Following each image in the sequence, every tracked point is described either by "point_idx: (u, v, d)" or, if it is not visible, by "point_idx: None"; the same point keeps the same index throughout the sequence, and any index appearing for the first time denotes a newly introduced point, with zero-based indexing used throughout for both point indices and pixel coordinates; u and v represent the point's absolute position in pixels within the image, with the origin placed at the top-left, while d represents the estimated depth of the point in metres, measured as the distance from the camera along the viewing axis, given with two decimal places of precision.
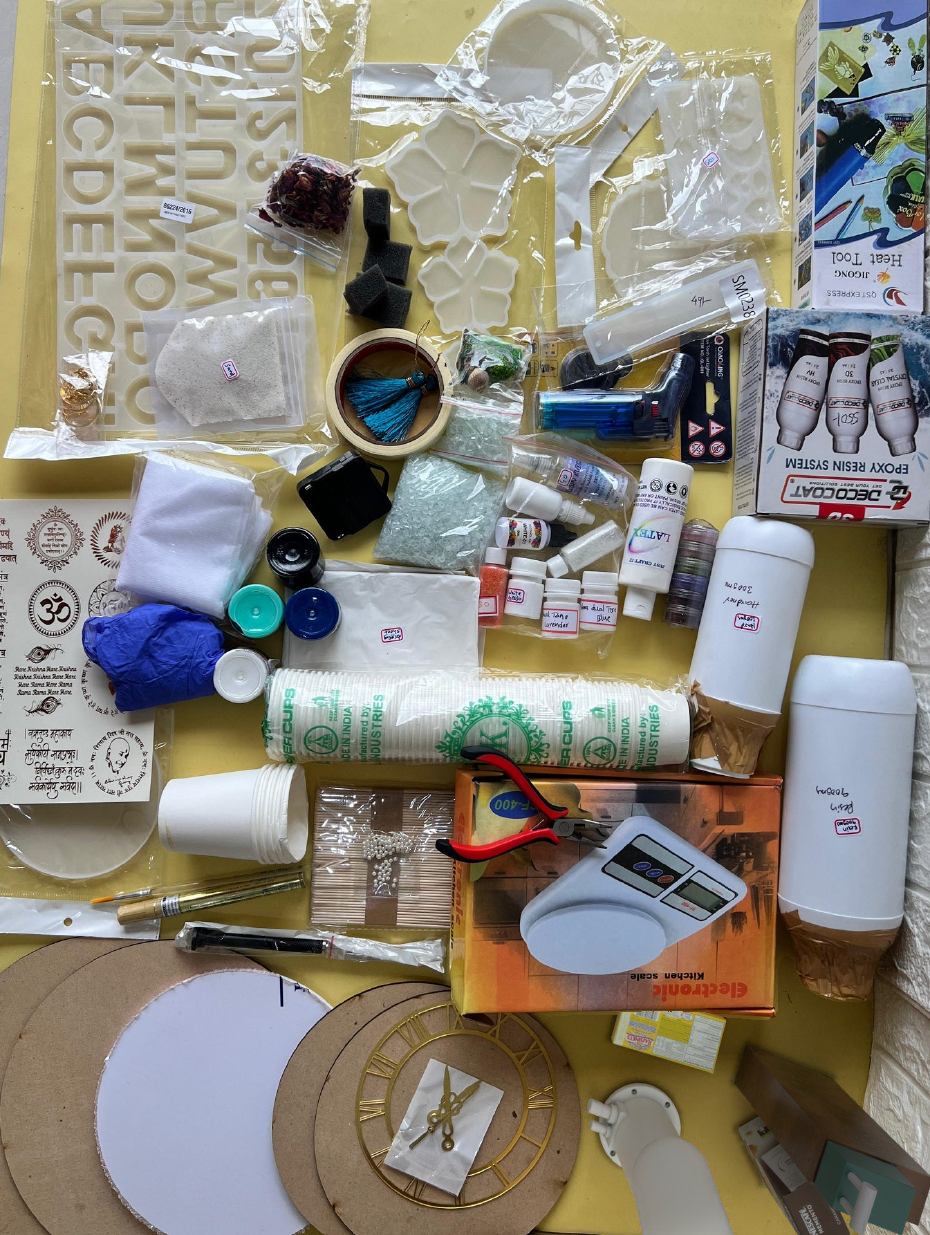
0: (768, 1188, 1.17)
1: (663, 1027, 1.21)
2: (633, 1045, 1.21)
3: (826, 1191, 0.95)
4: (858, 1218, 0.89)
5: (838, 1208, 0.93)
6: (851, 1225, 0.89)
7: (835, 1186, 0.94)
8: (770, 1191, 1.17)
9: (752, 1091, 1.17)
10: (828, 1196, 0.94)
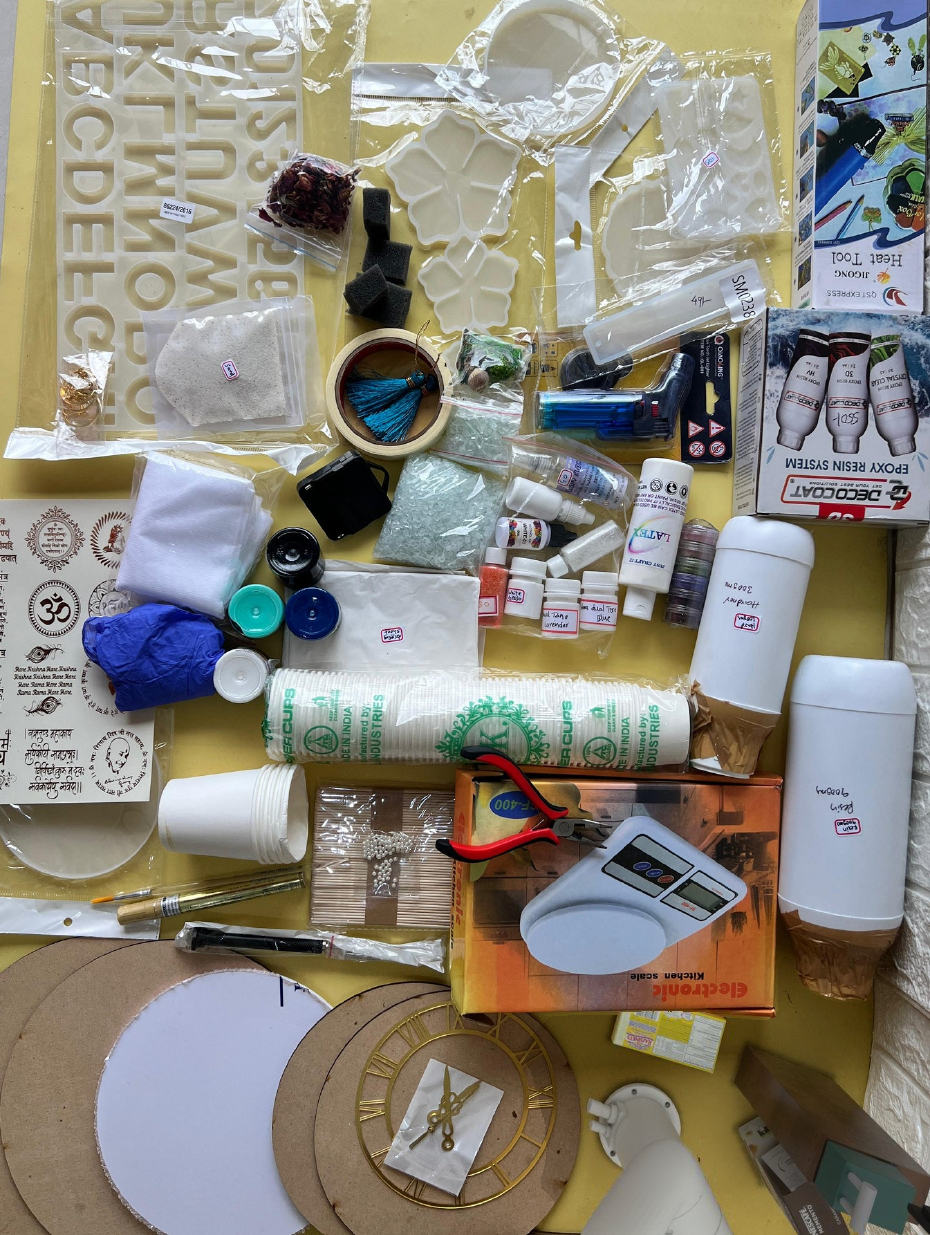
0: (768, 1188, 1.17)
1: (663, 1027, 1.21)
2: (633, 1045, 1.21)
3: (826, 1191, 0.95)
4: (858, 1218, 0.89)
5: (838, 1208, 0.93)
6: (851, 1225, 0.89)
7: (835, 1186, 0.94)
8: (770, 1191, 1.17)
9: (752, 1091, 1.17)
10: (828, 1196, 0.94)
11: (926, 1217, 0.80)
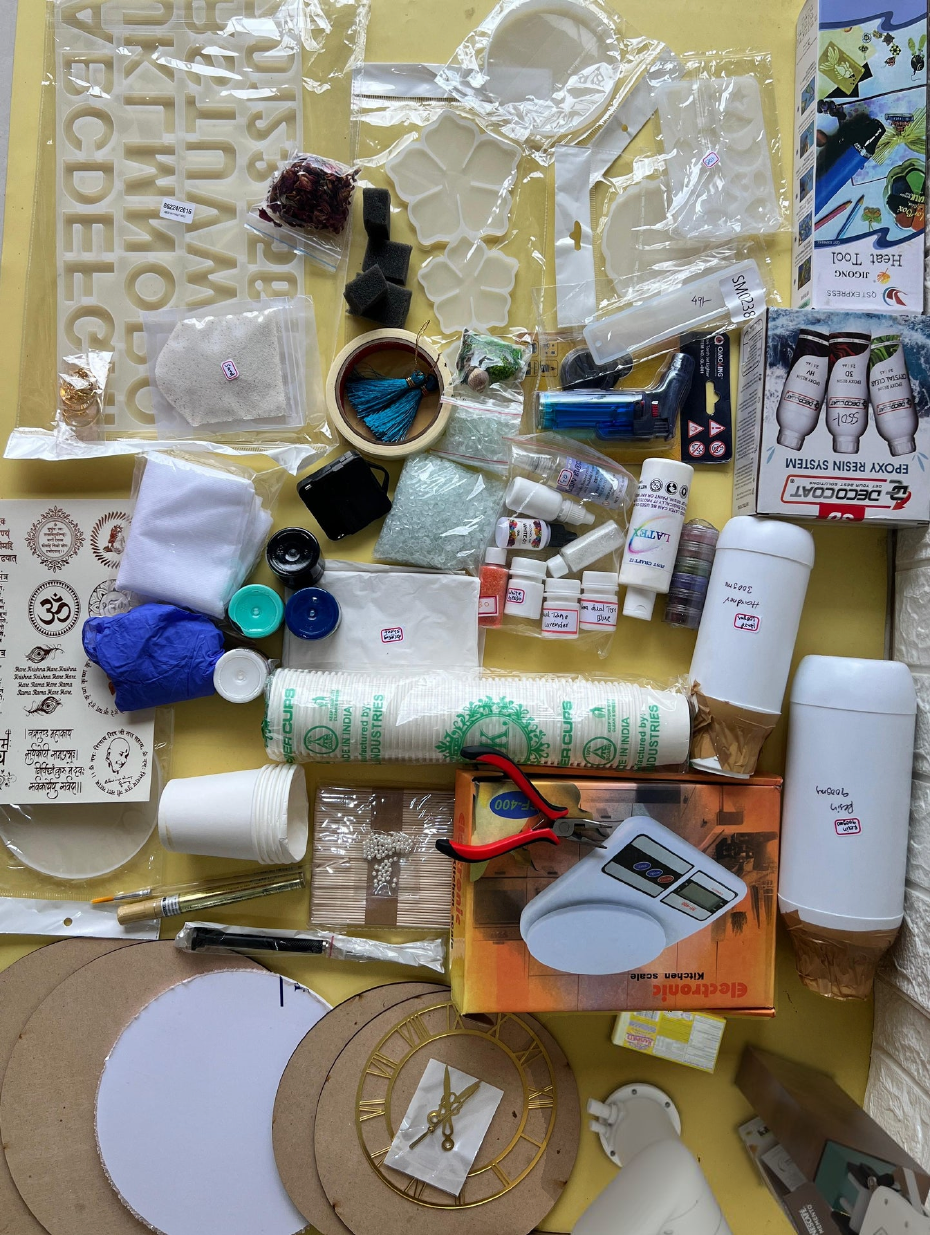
0: (768, 1188, 1.17)
1: (663, 1027, 1.21)
2: (633, 1045, 1.21)
3: (826, 1191, 0.95)
4: (858, 1218, 0.89)
5: (838, 1208, 0.93)
6: (851, 1225, 0.89)
7: (835, 1186, 0.94)
8: (770, 1191, 1.17)
9: (752, 1091, 1.17)
10: (828, 1196, 0.94)
11: (862, 1173, 0.91)
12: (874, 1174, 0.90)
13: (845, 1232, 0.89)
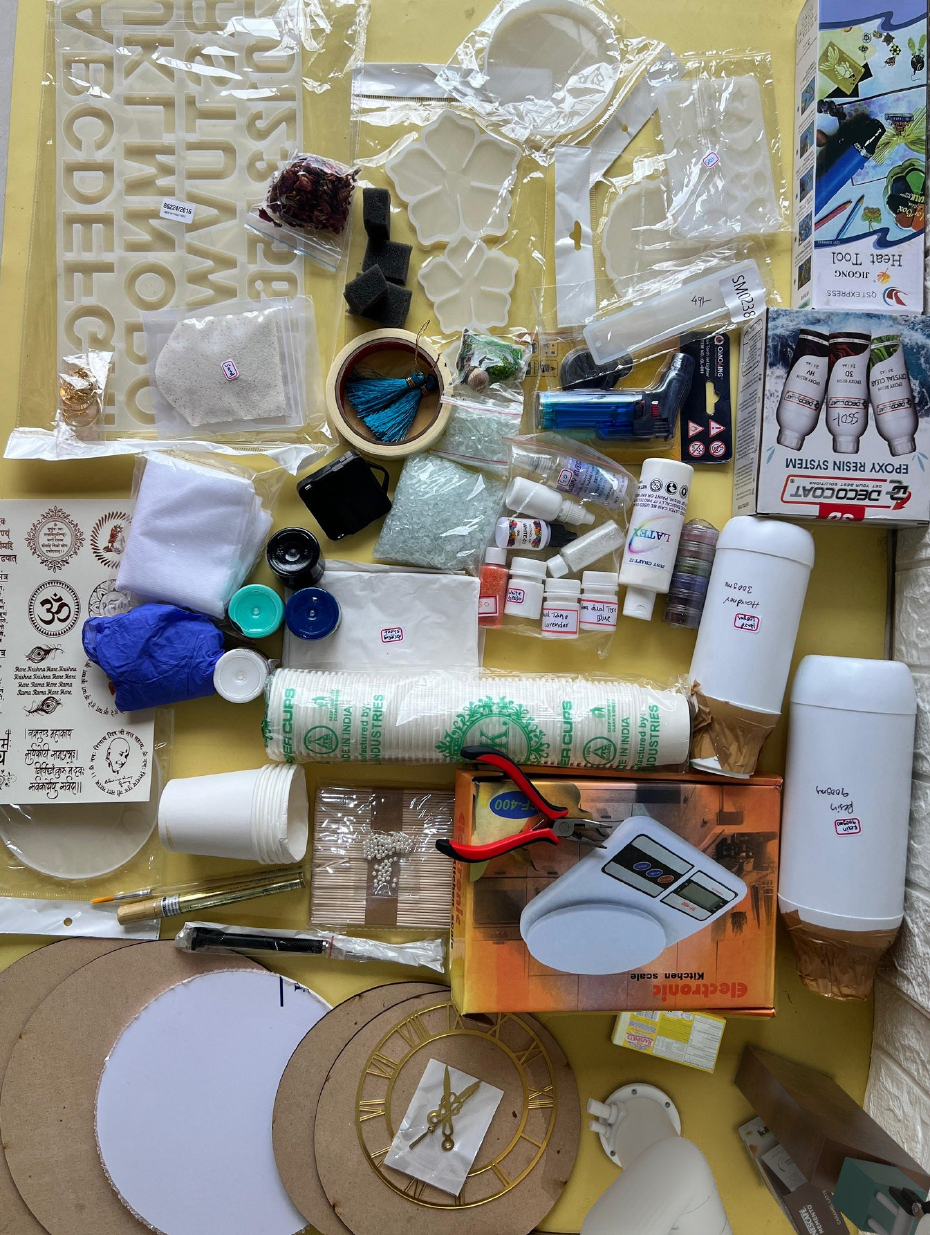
0: (768, 1188, 1.17)
1: (663, 1027, 1.21)
2: (633, 1045, 1.21)
3: (850, 1212, 0.92)
4: None
5: (866, 1229, 0.90)
6: None
7: (864, 1207, 0.91)
8: (770, 1191, 1.17)
9: (752, 1091, 1.17)
10: (854, 1217, 0.91)
11: (905, 1198, 0.88)
12: (918, 1200, 0.88)
13: None
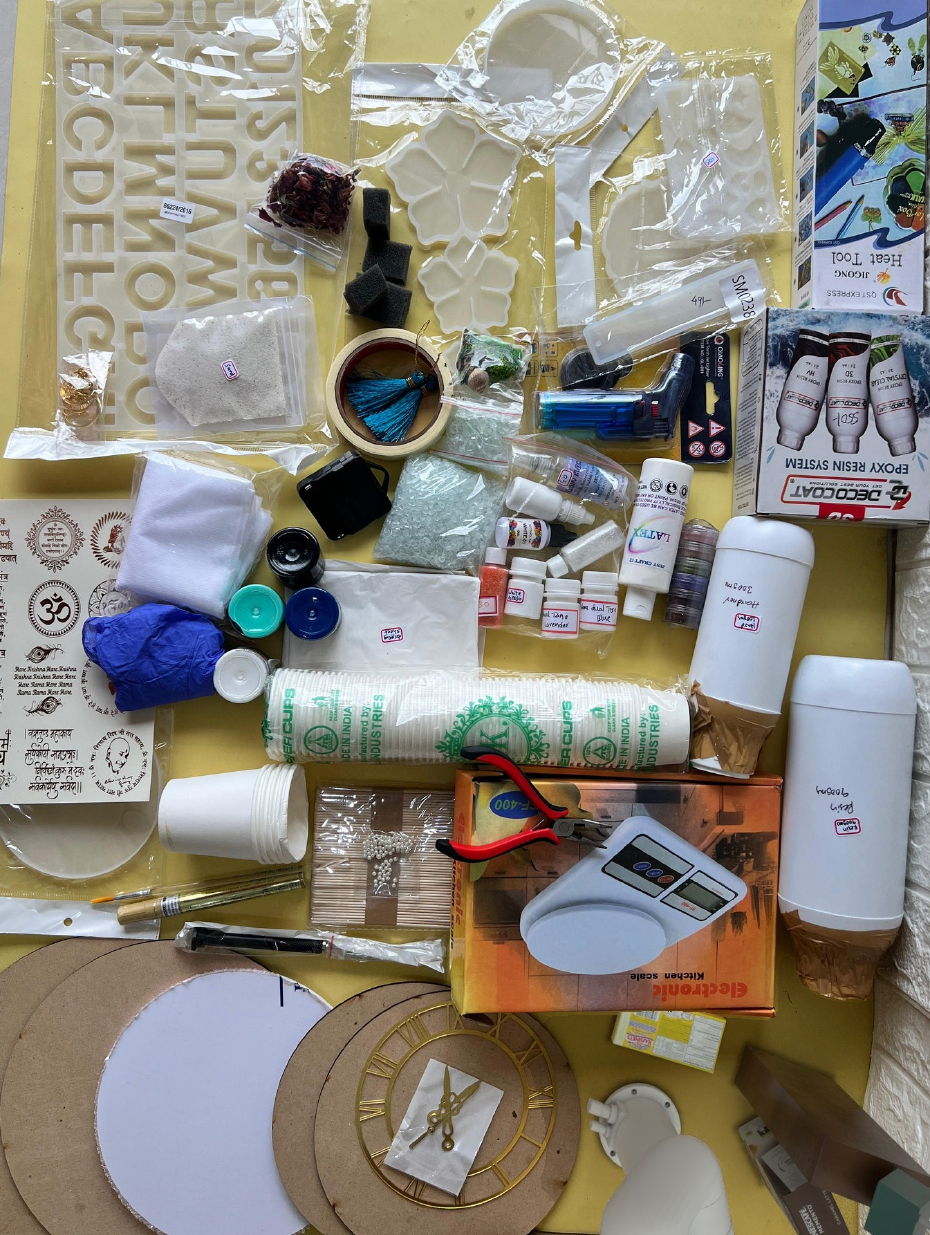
0: (768, 1188, 1.17)
1: (663, 1027, 1.21)
2: (633, 1045, 1.21)
3: None
4: None
5: None
6: None
7: (906, 1234, 0.88)
8: (770, 1191, 1.17)
9: (752, 1091, 1.17)
10: None
11: None
12: None
13: None
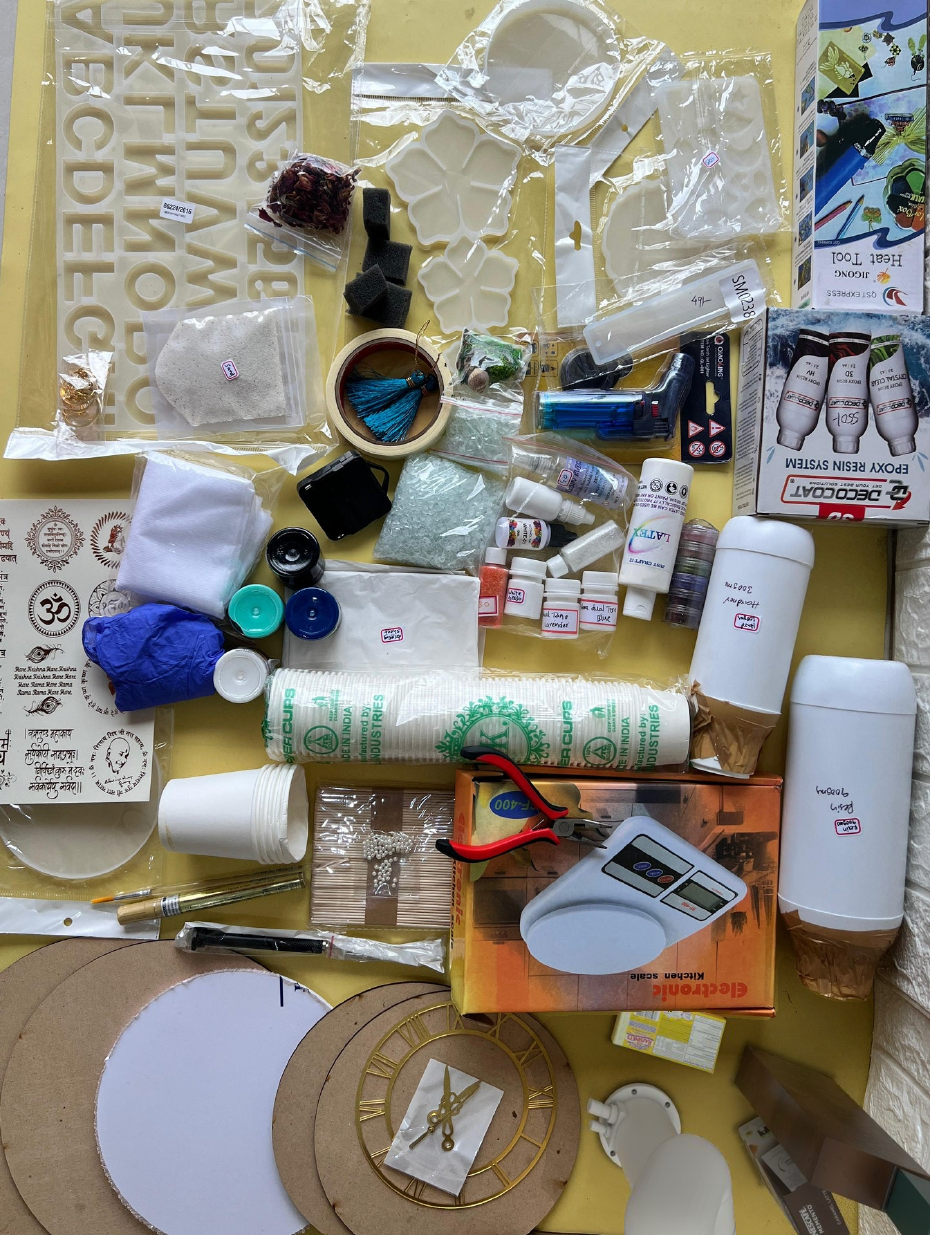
0: (768, 1188, 1.17)
1: (663, 1027, 1.21)
2: (633, 1045, 1.21)
3: None
4: None
5: None
6: None
7: None
8: (770, 1191, 1.17)
9: (752, 1091, 1.17)
10: None
11: None
12: None
13: None
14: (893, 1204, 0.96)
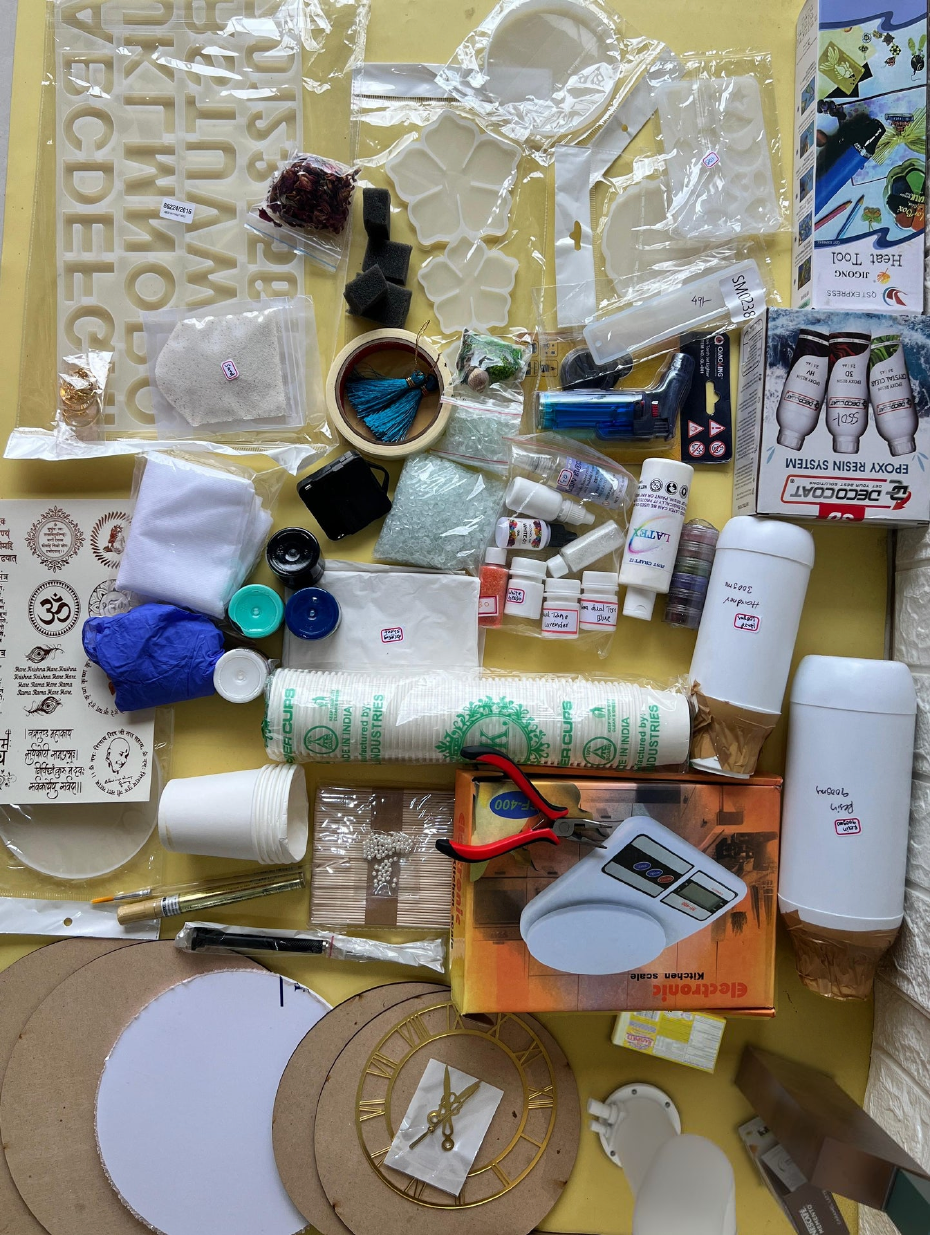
0: (768, 1188, 1.17)
1: (663, 1027, 1.21)
2: (633, 1045, 1.21)
3: None
4: None
5: None
6: None
7: None
8: (770, 1191, 1.17)
9: (752, 1091, 1.17)
10: None
11: None
12: None
13: None
14: (893, 1204, 0.96)
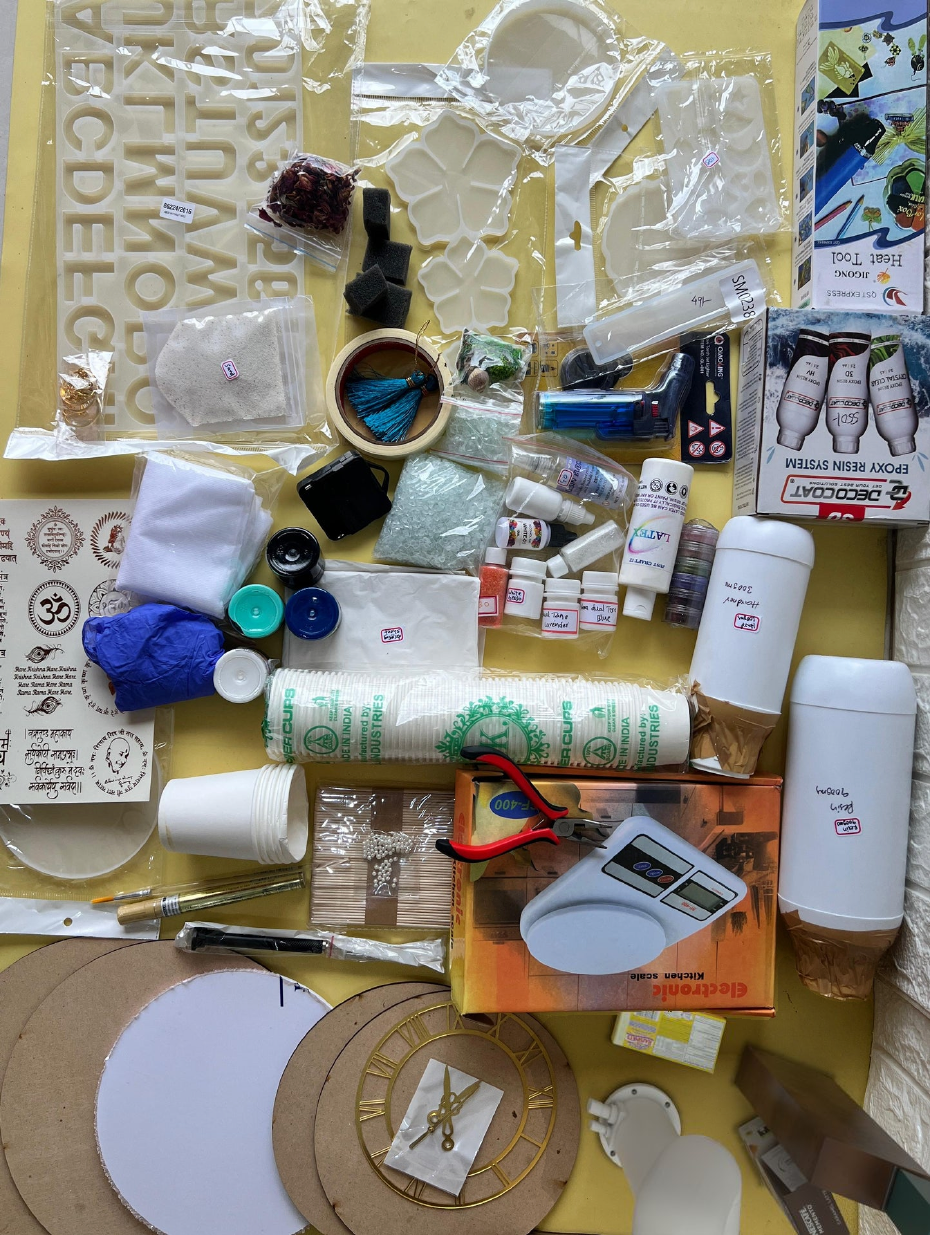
0: (768, 1188, 1.17)
1: (663, 1027, 1.21)
2: (633, 1045, 1.21)
3: None
4: None
5: None
6: None
7: None
8: (770, 1191, 1.17)
9: (752, 1091, 1.17)
10: None
11: None
12: None
13: None
14: (893, 1204, 0.96)
